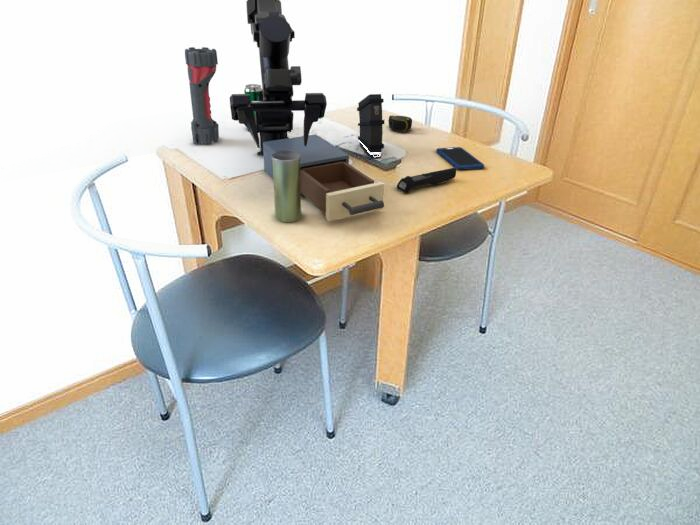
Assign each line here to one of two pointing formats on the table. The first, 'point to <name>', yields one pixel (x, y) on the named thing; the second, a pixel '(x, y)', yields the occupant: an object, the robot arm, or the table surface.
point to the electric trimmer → (425, 179)
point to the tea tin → (287, 186)
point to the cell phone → (460, 158)
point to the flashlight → (201, 93)
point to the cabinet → (304, 152)
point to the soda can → (253, 92)
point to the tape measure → (400, 123)
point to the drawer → (341, 190)
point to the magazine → (371, 123)
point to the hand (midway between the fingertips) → (282, 145)
